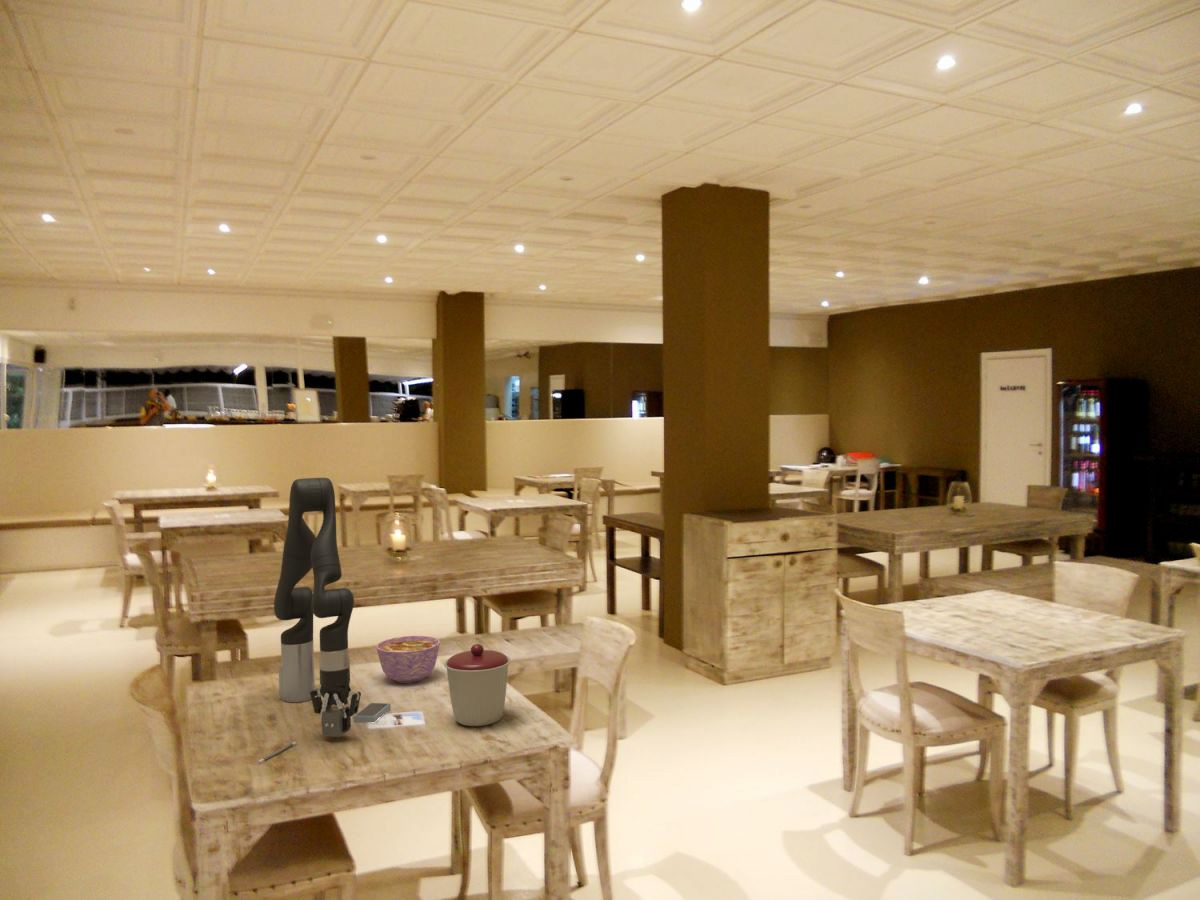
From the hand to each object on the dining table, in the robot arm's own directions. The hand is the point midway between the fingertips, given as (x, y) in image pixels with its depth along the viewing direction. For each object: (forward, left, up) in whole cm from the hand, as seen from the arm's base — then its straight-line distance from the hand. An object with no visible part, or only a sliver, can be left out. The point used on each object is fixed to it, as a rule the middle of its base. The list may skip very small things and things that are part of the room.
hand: (336, 729), depth 223 cm
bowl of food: (-6, +51, -3) cm, 52 cm away
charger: (0, 0, -1) cm, 1 cm away
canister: (+31, +21, -3) cm, 38 cm away
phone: (0, +18, -3) cm, 18 cm away
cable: (-9, -12, -2) cm, 15 cm away
